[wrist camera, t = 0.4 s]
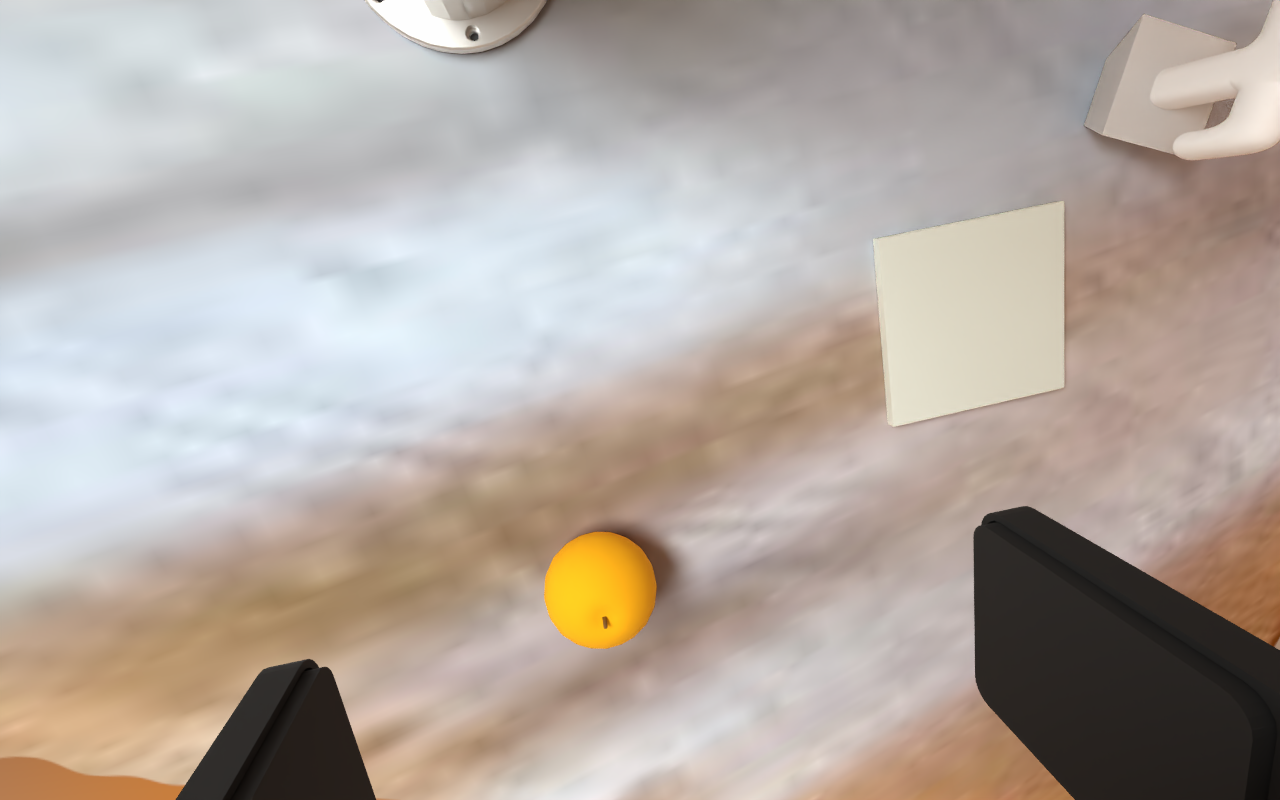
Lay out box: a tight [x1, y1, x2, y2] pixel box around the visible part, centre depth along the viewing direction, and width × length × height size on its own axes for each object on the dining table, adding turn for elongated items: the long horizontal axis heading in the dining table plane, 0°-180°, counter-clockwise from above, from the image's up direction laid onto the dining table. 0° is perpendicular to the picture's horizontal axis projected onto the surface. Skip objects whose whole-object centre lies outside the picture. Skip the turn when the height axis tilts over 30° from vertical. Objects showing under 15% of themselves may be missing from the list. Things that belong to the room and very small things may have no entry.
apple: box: [544, 532, 657, 649], centre depth 45 cm, size 8×8×8 cm
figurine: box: [1084, 0, 1280, 160], centre depth 38 cm, size 7×9×15 cm
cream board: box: [873, 201, 1064, 427], centre depth 47 cm, size 14×14×1 cm
